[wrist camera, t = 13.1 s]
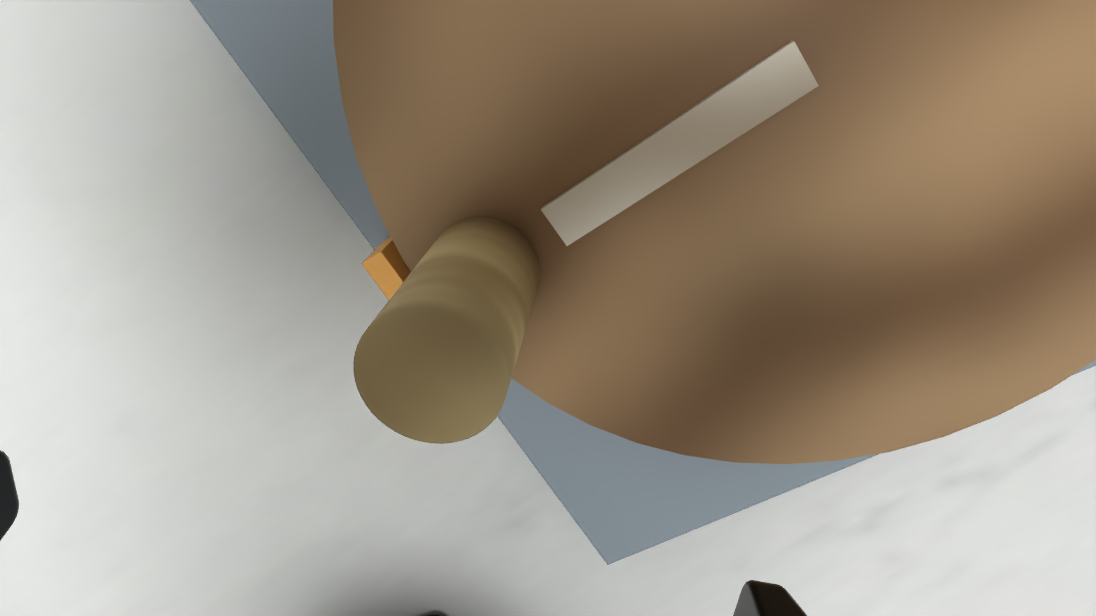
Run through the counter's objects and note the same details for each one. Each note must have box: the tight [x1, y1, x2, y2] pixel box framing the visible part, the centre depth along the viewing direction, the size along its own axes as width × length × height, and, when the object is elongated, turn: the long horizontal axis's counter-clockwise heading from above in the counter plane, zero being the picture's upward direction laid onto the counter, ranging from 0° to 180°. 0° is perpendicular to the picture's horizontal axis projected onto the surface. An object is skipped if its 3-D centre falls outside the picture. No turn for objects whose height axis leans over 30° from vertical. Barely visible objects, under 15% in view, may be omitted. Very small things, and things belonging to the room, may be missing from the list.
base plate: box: [190, 0, 1096, 565], centre depth 16 cm, size 22×22×3 cm
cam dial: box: [333, 0, 1096, 464], centre depth 13 cm, size 19×19×7 cm
